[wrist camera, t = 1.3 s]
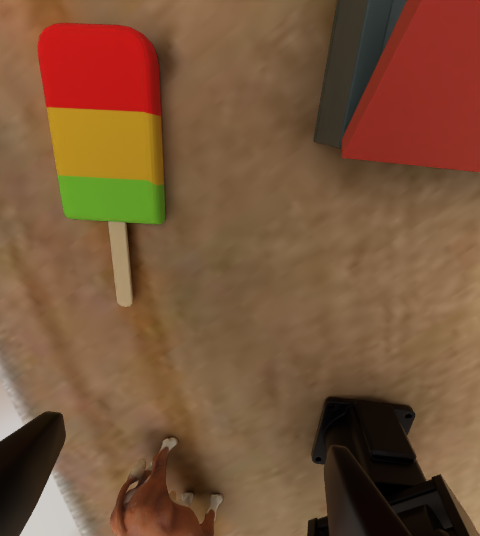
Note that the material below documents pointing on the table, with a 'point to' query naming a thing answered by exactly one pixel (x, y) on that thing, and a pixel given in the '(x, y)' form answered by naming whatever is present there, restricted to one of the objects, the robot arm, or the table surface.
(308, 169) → the table surface
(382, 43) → the open rectangular box
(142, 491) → the bull figurine
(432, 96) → the lid
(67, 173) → the popsicle
